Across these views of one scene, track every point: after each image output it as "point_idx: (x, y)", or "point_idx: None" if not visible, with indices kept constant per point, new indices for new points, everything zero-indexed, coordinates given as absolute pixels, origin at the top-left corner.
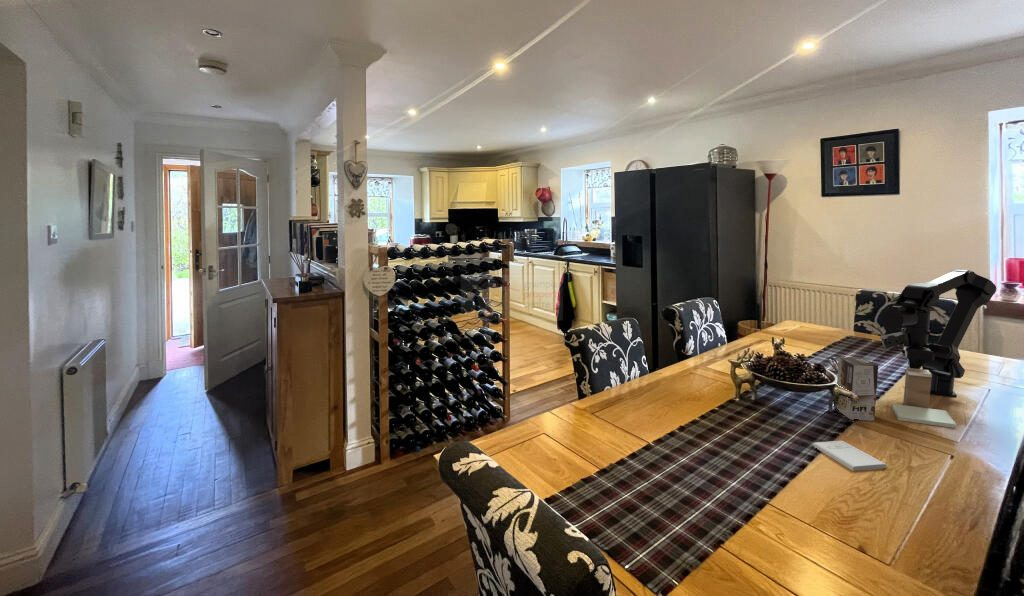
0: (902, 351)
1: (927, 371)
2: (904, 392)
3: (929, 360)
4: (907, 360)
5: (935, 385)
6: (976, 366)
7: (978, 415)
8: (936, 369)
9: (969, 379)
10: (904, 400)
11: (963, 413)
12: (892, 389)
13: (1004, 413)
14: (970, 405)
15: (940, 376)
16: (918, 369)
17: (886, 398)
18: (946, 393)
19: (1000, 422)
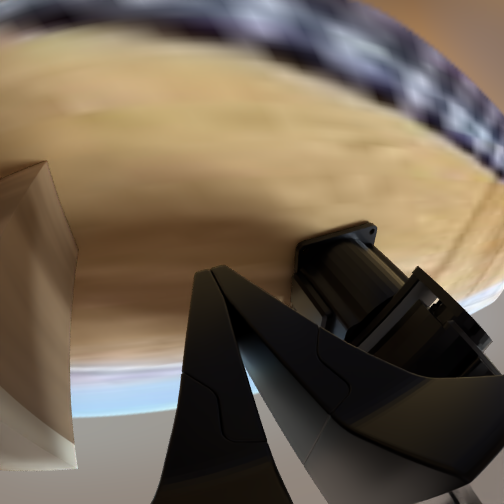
0: (484, 461)
1: (18, 466)
2: (17, 193)
3: (419, 367)
4: (340, 360)
5: (330, 280)
6: (492, 276)
7: (98, 376)
8: (372, 348)
9: (444, 288)
10: (14, 179)
11: (82, 353)
12: (308, 90)
13: (177, 398)
14: None
15: (344, 333)
16: (16, 442)
17: (71, 65)
18: (291, 297)
19: (79, 403)
